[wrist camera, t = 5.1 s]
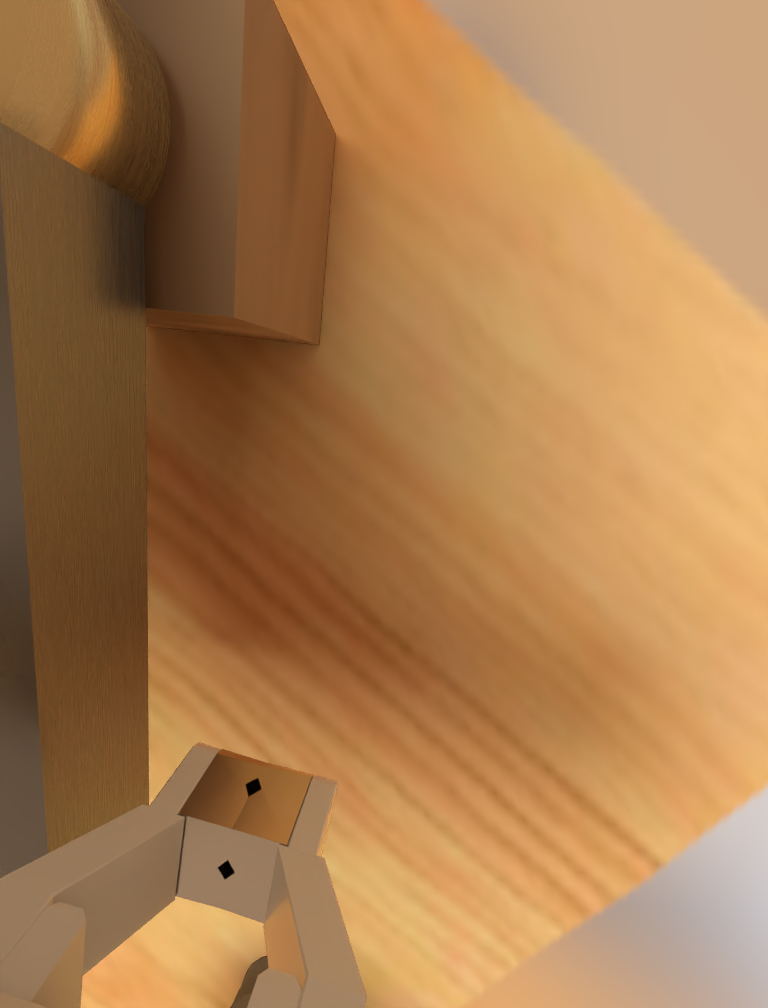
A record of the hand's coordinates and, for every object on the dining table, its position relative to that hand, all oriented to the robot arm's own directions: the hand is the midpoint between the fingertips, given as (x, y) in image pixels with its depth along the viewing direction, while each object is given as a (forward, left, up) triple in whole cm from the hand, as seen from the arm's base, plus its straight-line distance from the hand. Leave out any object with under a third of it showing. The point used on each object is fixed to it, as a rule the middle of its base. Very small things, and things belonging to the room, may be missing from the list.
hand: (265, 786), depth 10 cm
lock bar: (-5, +6, -1) cm, 8 cm away
